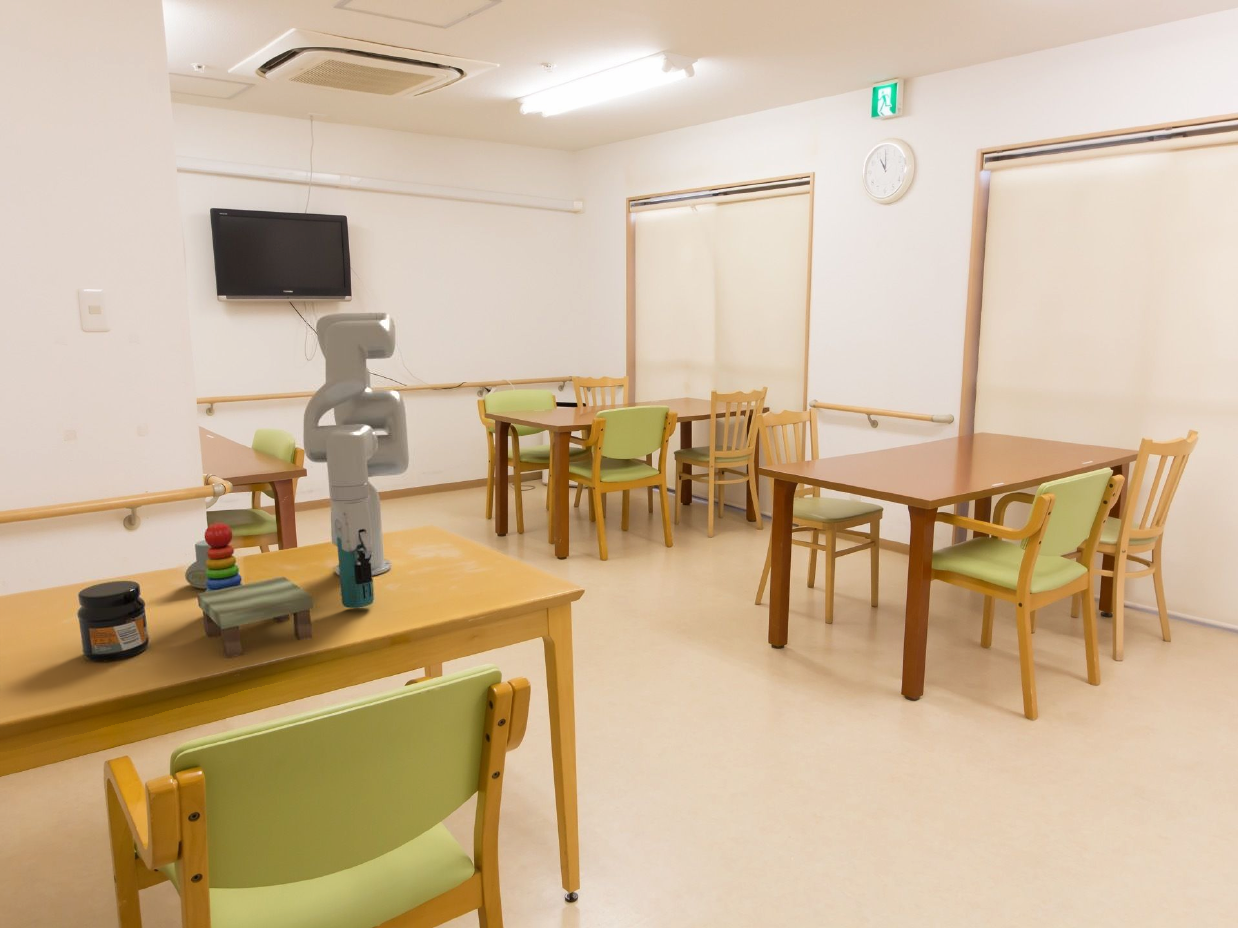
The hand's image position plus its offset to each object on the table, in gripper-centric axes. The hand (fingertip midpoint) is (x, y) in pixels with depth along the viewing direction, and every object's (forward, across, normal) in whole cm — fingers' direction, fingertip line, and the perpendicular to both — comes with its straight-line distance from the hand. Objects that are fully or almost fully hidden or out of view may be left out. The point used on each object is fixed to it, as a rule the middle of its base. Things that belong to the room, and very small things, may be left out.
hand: (356, 577), depth 176 cm
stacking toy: (+7, -16, -21) cm, 27 cm away
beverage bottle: (+7, 0, 0) cm, 7 cm away
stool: (+7, +1, -20) cm, 21 cm away
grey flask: (+7, -38, -18) cm, 43 cm away
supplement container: (+7, -8, -42) cm, 43 cm away
